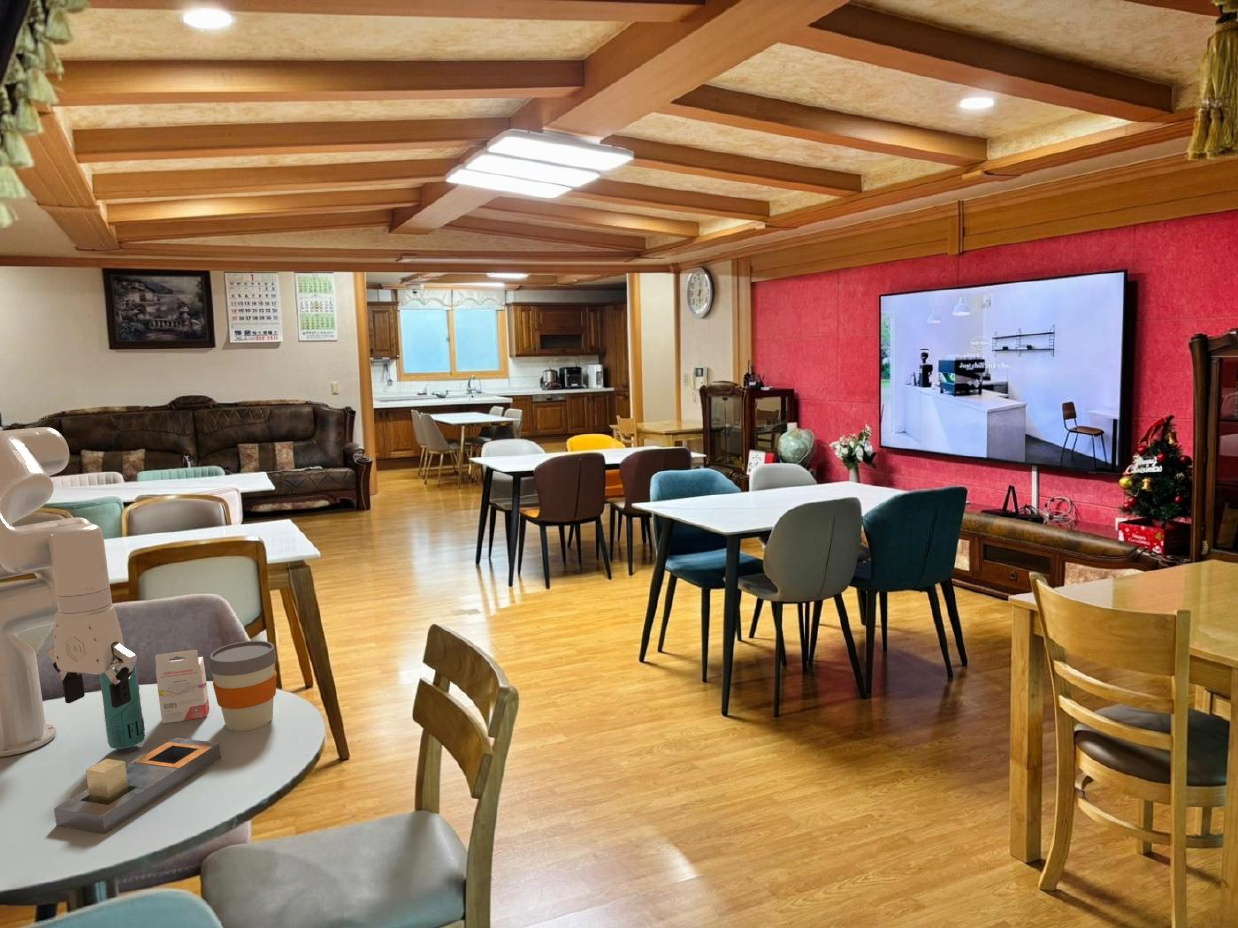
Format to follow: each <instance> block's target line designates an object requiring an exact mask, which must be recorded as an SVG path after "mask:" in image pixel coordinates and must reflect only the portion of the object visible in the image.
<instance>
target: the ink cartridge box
mask: <svg viewBox="0 0 1238 928" xmlns="http://www.w3.org/2000/svg"><path fill="white" fill-rule="evenodd" d="M175 657H178V658H182V659H177V660H176V659H175ZM154 659H155V677H156V684H157V685H156V686H157V693H158V700H159V702H158V703H159V706H160V717H161V722H162V724H171V723H176V722H177V723H178V722H182V721H191V720H198V719H204V718H207V716H208V713H209V711H210V709H211V708H210V700H209V693H208V692H209V690H208V685H207V684H208V683H207V675H206V668H205V661H204V660H205V659H204V656H199V652H198V650H197V649H192V650H191V649H190V650H183V651H176V652H174V651H173V652H168V653H162V654H161V653H160V654H158V653H157V654H155V657H154ZM170 659H175V660H170Z"/></svg>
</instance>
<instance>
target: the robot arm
mask: <svg viewBox="0 0 1238 928" xmlns="http://www.w3.org/2000/svg"><path fill="white" fill-rule="evenodd" d="M69 460H70V450H69V445H68V443H67V441H66V439H65V437H64V436H63V435H62V433H60V432H59V431H58V430H56V429H54V428H52V427H47V426H46V427H45V426H43V427H41V426H40V427H38V426H37V427H30V428H29V427H28V428H21V429H20V428H18V429H8V430H0V580H1V579H7V578H12V577H17V576H22V575H27V574H34V575H35V577H36V578H35V579H34V578H33V579H30V580H23V581H20V582H14V583H9V584H4V585H0V758H1V757H10V756H14V755H19V754H23V753H26V752H29V751H32V750H34V749H37V748H39V747H42V746H44V745H45V744H48V743H50V742H51V741H52V740H53V739H54V738H55V737H56V735H57V729H56V726H54V725H52V724H50V723H46V717H45V711H44V710H45V709H44V702H43V695H42V689H41V688H42V687H41V682H40V681H41V680H40V674H39V668H38V667H39V666H38V660H37V653H36V652H35V649H34V648H33V646H32V645H30V644H29V643H28V642H26V641H25V640H23V639H21V638H20V637H19V636H18V635H19V634H20V633H23V632H27V631H29V630H34V629H38V628H42V627H46V626H49V625H53V642H54V643H53V644H54V647H53V648H52V649H50V650H48V651H47V654H48V656H49V658H50V661H51V662H52V663H53V669H55V670H56V672H57V673H58V678H59V680H61V681H62V687H63V696H64V702H65V704H71V703H74V702H76V701H78V700H80V699H83V698H84V697H85V694H86V693H85V688H84V680H83V674H85V675H100V674H102V673H104V672H105V674H106V675H107V676H108V678H109V679H110V680H111V681H112V684H110V686H109V687H110V695H111V702H112V707H113V708H118V707H120V706H122V705H124V704H126V703H128V702H130V701H131V695H130V688H129V680H128V679H129V678H131V674H132V673H133V671H134V670H135V668H136V664H137V662H138V661H137V660H138V656H137V655H136V654H135V653H134V652H133V651H131V650H129V649H127V647H125V645H124V639H123V633H122V629H121V624H120V621H119V619H118V615H117V612H116V609H115V607H114V606H113V600H112V591H111V586H110V585H111V584H110V577H109V571H108V562H107V560H108V559H107V553H106V547H105V539H104V532H103V529H102V528H101V527H100V526H99V525H98V524H94V523H92V522H90V520H89V519H86V518H84V517H68V518H62V519H57V520H48V521H43V522H42V521H41V522H36V523H30V524H24V525H18V526H13V524H14V523H16V522H19V521H20V520H22V519H24V518H25V517H26V518H27V516H29V515H31V514H33V513H34V512H36V511H38V510H39V509H41V508H43V507H44V505H46V503H48V501H49V500H50V499H51V497H52V496H53V493H54V482H53V480H52V478H51V476H53V475H57V474H58V473H61V472H62V471H63V470H65V468H66V467H67V466H68V464H69V462H70V461H69ZM123 663H124V664H123ZM116 668H117V670H118V671H119V672H118V674H116V673H115V672H114V669H116Z"/></svg>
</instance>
